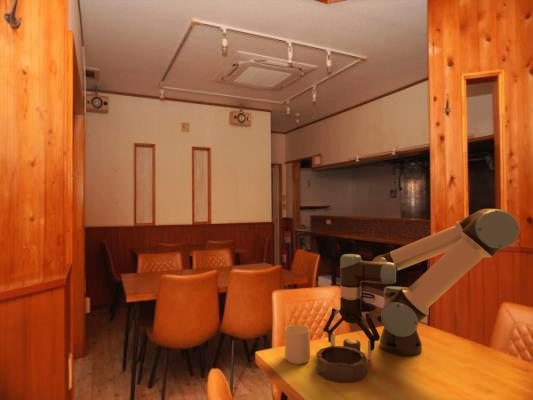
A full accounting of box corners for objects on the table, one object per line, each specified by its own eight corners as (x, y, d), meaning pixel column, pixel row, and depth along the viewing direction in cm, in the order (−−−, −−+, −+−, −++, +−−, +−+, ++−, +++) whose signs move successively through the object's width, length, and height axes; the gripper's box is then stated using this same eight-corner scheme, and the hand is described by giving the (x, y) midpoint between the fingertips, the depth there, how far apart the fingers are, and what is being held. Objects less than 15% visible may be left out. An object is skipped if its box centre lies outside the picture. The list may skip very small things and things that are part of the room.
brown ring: (359, 360, 129) (359, 345, 129) (371, 382, 113) (371, 366, 113) (314, 360, 129) (314, 345, 129) (320, 382, 113) (320, 366, 114)
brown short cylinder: (358, 352, 136) (358, 338, 136) (362, 359, 130) (361, 344, 130) (342, 352, 136) (342, 338, 136) (345, 359, 130) (345, 344, 130)
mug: (310, 365, 125) (310, 333, 125) (284, 365, 126) (284, 333, 126) (309, 351, 137) (308, 321, 137) (285, 350, 138) (285, 321, 138)
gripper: (388, 298, 131) (388, 357, 131) (321, 290, 142) (321, 344, 143) (384, 304, 124) (384, 366, 124) (314, 295, 136) (315, 351, 136)
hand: (350, 355), depth 133 cm, fingers open, 13 cm apart
